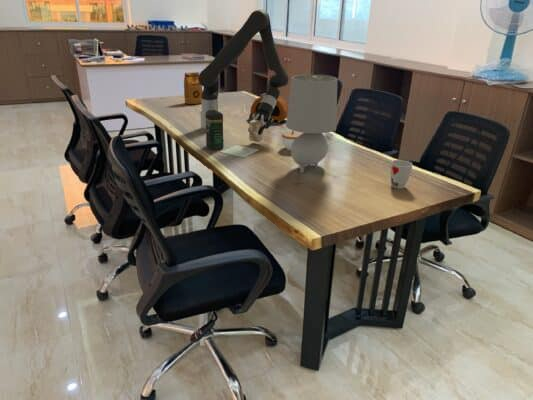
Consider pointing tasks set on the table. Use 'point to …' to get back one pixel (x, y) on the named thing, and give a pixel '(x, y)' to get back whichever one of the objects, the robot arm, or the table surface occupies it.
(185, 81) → the coffee package
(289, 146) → the lidded jar
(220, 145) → the coffee jar
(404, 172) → the cup
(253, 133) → the maple block
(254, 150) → the green mat
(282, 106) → the alarm clock
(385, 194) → the table surface
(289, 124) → the table lamp
